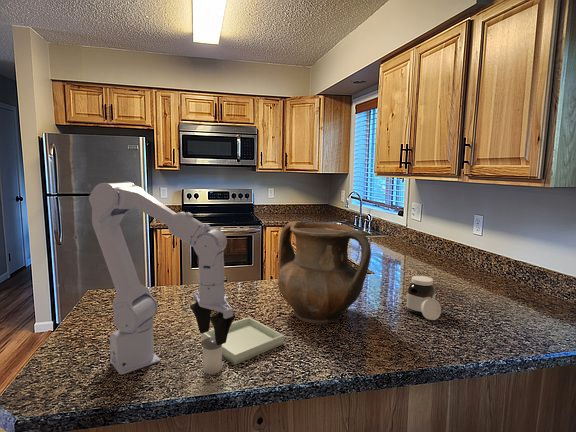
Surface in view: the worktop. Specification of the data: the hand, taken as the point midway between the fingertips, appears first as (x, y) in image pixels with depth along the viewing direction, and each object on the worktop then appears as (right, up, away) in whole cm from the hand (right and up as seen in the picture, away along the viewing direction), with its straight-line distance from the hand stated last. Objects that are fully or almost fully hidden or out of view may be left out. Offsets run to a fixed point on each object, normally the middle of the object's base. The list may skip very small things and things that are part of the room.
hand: (212, 337), depth 84 cm
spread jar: (+64, -5, +36) cm, 73 cm away
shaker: (0, -8, +1) cm, 8 cm away
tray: (+5, -6, +14) cm, 16 cm away
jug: (+28, -4, +35) cm, 45 cm away
